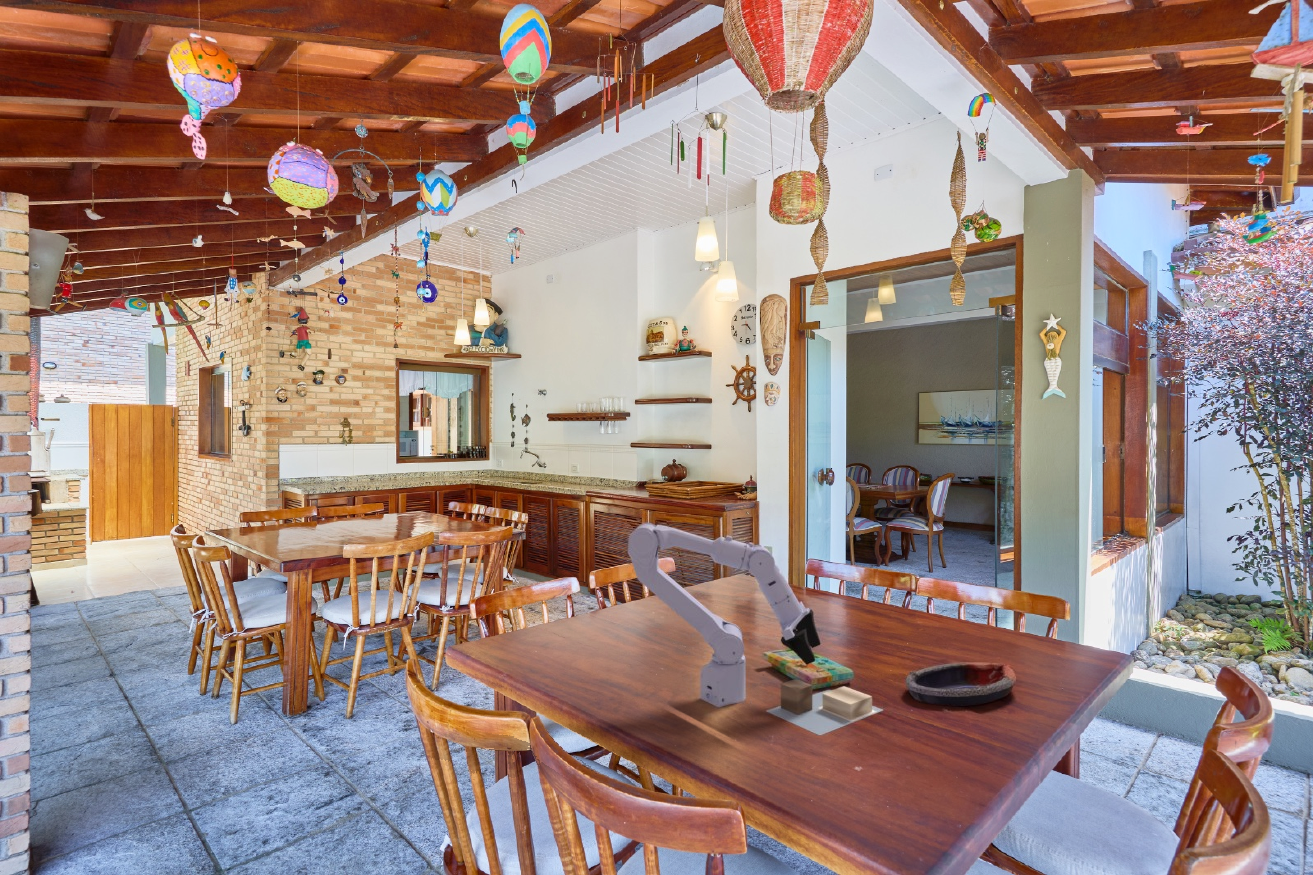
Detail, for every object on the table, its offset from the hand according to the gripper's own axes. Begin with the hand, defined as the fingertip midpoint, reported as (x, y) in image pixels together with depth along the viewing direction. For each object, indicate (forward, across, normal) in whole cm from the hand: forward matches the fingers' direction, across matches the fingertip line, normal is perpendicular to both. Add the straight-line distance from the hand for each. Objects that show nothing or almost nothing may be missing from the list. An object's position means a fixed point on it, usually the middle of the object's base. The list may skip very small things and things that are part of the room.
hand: (813, 653), depth 140 cm
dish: (+27, +16, -20) cm, 37 cm away
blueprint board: (+10, -6, +2) cm, 12 cm away
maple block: (+12, -4, -2) cm, 12 cm away
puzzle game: (+10, +14, +10) cm, 20 cm away
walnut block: (+6, -8, +6) cm, 12 cm away
